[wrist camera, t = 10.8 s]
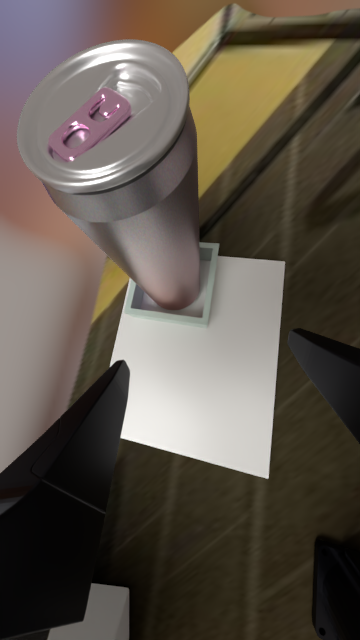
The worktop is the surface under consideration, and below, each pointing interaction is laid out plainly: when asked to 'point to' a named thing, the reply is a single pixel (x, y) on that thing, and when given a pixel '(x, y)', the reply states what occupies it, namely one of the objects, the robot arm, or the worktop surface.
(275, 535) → the worktop surface
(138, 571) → the worktop surface
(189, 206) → the beverage can
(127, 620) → the milk carton
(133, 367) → the housing plate
